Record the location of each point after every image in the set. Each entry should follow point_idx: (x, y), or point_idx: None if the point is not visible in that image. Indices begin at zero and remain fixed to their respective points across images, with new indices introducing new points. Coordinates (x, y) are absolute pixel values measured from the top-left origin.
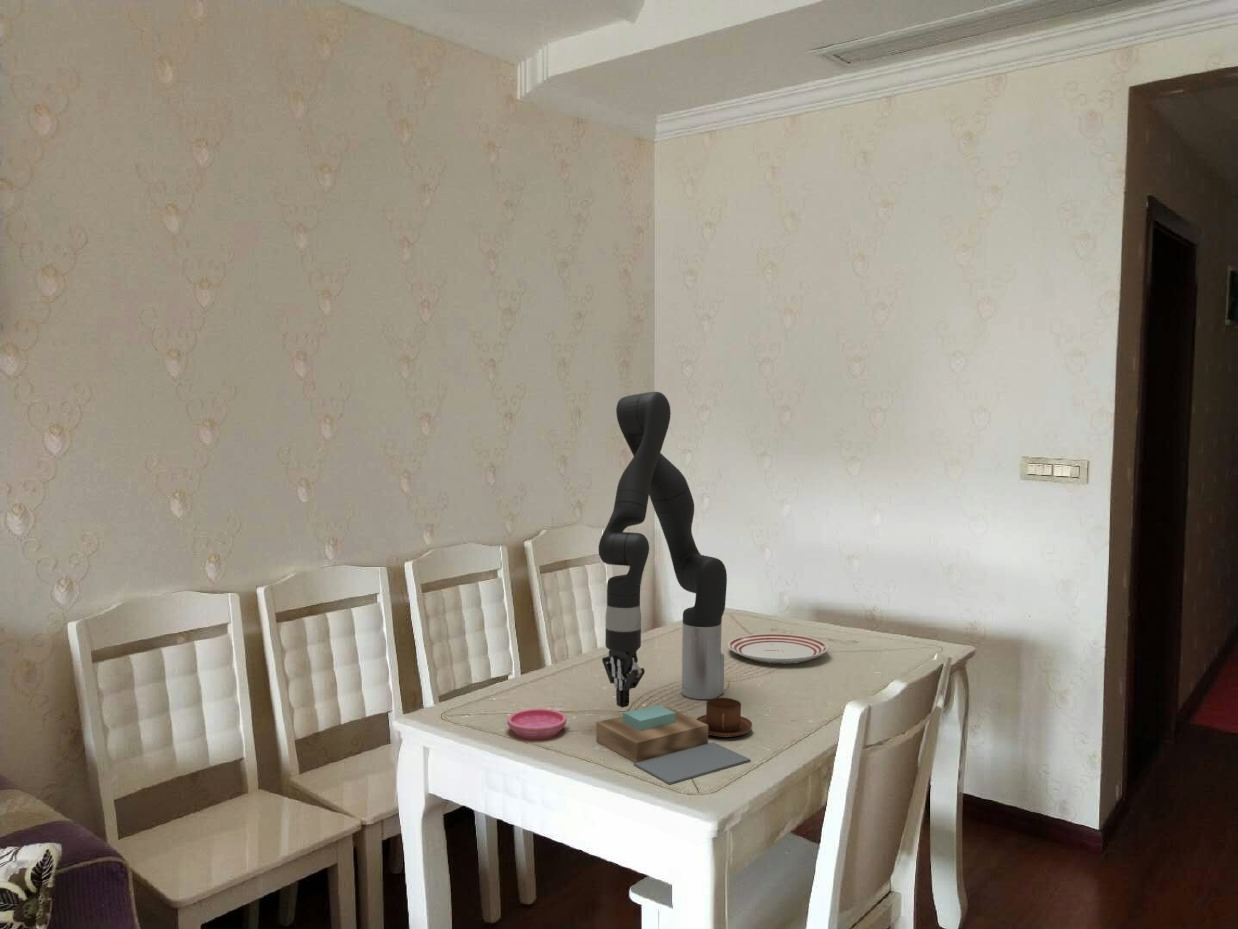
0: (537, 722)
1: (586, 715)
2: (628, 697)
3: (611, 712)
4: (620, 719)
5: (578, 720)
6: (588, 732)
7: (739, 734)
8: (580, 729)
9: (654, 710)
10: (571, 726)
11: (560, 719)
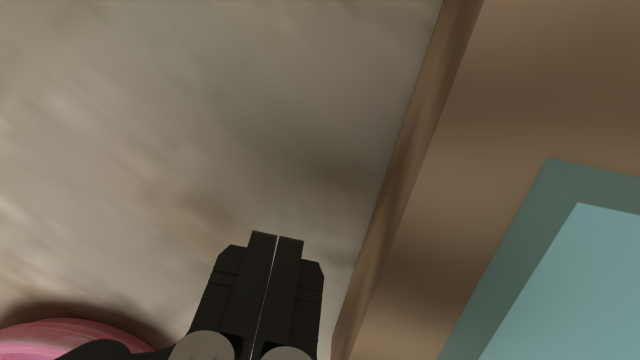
0: (32, 357)
1: (7, 151)
2: (318, 313)
3: (20, 9)
4: (394, 349)
5: (61, 223)
6: None
7: None
8: (174, 289)
9: (618, 311)
10: (118, 287)
11: None
